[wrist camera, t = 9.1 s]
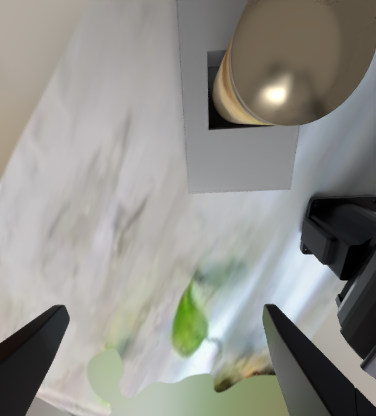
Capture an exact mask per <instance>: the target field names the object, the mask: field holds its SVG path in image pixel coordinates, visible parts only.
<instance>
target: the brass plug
mask: <svg viewBox="0 0 376 416" xmlns="http://www.w3.org/2000/svg"><path fill="white" fill-rule="evenodd" d="M375 49H376V0H248V2H247V4H246V6H245V8H244V10H243V12H242V14H241V17H240V19H239V22H238V24H237V26H236V29H235V31H234V34H233V36H232V38H231V41H230V43H229V46H228V48H227V51H226V53H225V55H224V58H223V60H222V63H221V65H220V68H219V70H218V72H217V75H216V77H215V80H214V83H213V88H212V98H213V103H214V106H215V108H216V110H217V112H218V113H219V114H220V116H222V117H223V118H224V119H225V120H227V121H229V122H232V123H237V124H257V125H278V126H296V125H303V124H306V123H310V122H313V121H315V120H318V119H320V118H322V117H324V116H325V115H327V114H329V113H330V112H332V111H333V110H335V109H336V108H337V107H338V106H339V105H341V104H342V103H343V102H344V101H345V100H346V99H347V98H348V97H349V96H350V95H351V94H352V92H353V91H354V90H355V89H356V87H357V86H358V85H359V83H360V82H361V80H362V79H363V77H364V75H365V73H366V71H367V70H368V68H369V66H370V63H371V61H372V58H373V56H374V53H375Z"/></svg>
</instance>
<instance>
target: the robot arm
mask: <svg viewBox="0 0 376 416" xmlns="http://www.w3.org/2000/svg"><path fill="white" fill-rule="evenodd" d="M373 200H375V201H374V202H373ZM315 201H317V203H316V204H314V202H315ZM301 241H302V242H301V247H300V250H301V252H302V253H303V254H314V255H315V257H316V258H317V259H318V260H319V261H320V262H321V263H322V264H323V265H327V266H328V267H329V268H330V269H331V270H332V271H333V272H334V273H335V274H336V276H337V277H338V278H339V279H340V280H342V281H346V280H348V281H347V283H346V285H345V286H344V288H343V290H342V292H341V293H340V294H338V295H337V297H336V299H335V300H336V303H337V306H338V314H337V316H338V319H339V322H340V325H341V327H342V328H341V330H340V332H341V334H342V335H343V337H344V338H345V340H346V341H347V343H348V344H349V345H350V347H351V348H352V349H353V350H354V351H355V352H356V353H357V354H358V356H359V357H361V358H362V359H363V360H364V361H363V362H362V363H361V364H360V367H361V368H362V369H363V370H364V371H365V372H367V373H368V374H369V375H371V376H372V377H374V378H375V379H376V195H363V196H338V197H315V198H312V199H311V200H310V201H309V205H308V210H307V216H306V218H305V220H304V224H303V230H302V235H301ZM305 249H307V250H305ZM262 318H263V325H264V329H265V334H266V338H267V343H268V347H269V351H270V356H271V360H272V363H273V367H274V370H275V373H276V376H277V379H278V382H279V385H280V388H281V391H282V394H283V397H284V400H285V403H286V406H287V409H288V412H289V415H290V416H376V407H375V406H374V405H373V404H372V403H371V402H370V401H369V400H368V399H367V398H366V397H365V396H364V395H363V394H362V393H361V392H360V391H359V390H358V389H357V388H355V387H354V385H353V384H352V383H351V382H350V381H349V380H348V379H347V378H346V377H345V376H344V375H343V374H342V373H341V372H340V371H339V370H338V369H337V368H336V367H335V366H334V365H333V363H331V361H330V360H329V359H328V358H327V357H326V356H325V355H324V354H323V353H322V352H321V351H320V350H319V349H318V348H317V347H316V346H315V345H314V344H313V343H312V342H311V341H310V340H309V339H308V338H307V337H306V336H305V335H304V334H303V333H302V332H301V331H300V330H299V329H298V328H297V327H296V326H295V325H294V323H293V322H292V321H291V320H290V319H289V318H288V317H287V316H286V315H285V314H284V313H283V312H282V311H281V310H280V309H279V308H278V307H277V306H276V305H275V304H265V305H264V309H263V317H262ZM69 321H70V317H69V314H68V312H67V309H66V307H65V305H54V306H52V307H51V308H49V309H48V310H47V311H45V312H44V313H42V314H41V315H40V316H38V317H37V318H35V319H34V320H32V321H31V322H30V323H28V324H27V325H25V326H24V327H23V328H21V329H20V330H18V331H17V332H15V333H14V334H13V335H11V336H10V337H8V338H7V339H5V340H4V341H3V342H1V343H0V416H25V415H26V413H27V411H28V409H29V407H30V405H31V403H32V401H33V399H34V397H35V395H36V393H37V391H38V389H39V388H40V386H41V384H42V382H43V380H44V378H45V376H46V374H47V372H48V370H49V368H50V366H51V364H52V362H53V360H54V358H55V355H56V353H57V351H58V348H59V346H60V343H61V341H62V339H63V336H64V334H65V331H66V329H67V326H68V324H69Z"/></svg>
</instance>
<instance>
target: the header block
mask: <svg viewBox="0 0 376 416" xmlns="http://www.w3.org/2000/svg"><path fill="white" fill-rule="evenodd" d="M247 2H248V0H177V13H178V29H179V46H180V62H181V79H182V95H183V111H184V128H185V144H186V161H187V177H188V194H192V193H216V192H239V191H263V190H287V189H290V188H291V181H292V174H293V167H294V160H295V153H296V147H297V140H298V133H299V126H300V125H296V126H278V125H254V126H238V127H222V128H208V74H207V67H214V66H220V65H221V63H222V60H223V58H224V55H225V53H226V51H227V48H228V46H229V43H230V41H231V38H232V36H233V34H234V31H235V29H236V26H237V24H238V22H239V19H240V17H241V14H242V12H243V10H244V8H245V6H246V4H247Z"/></svg>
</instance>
